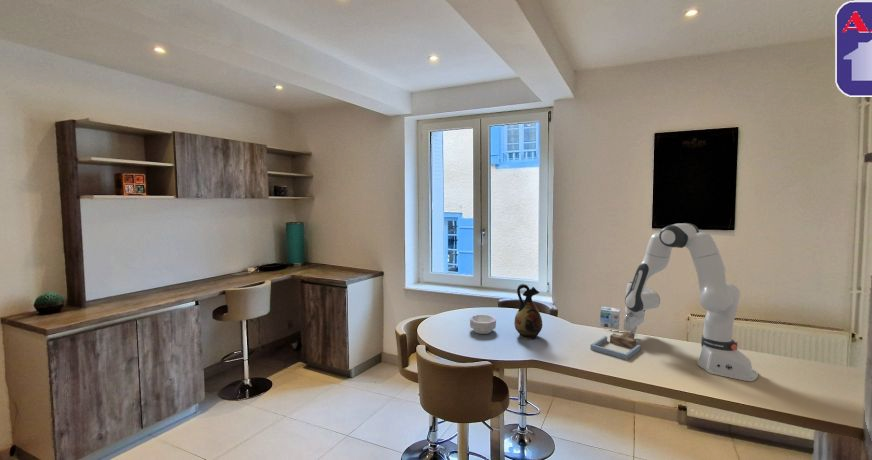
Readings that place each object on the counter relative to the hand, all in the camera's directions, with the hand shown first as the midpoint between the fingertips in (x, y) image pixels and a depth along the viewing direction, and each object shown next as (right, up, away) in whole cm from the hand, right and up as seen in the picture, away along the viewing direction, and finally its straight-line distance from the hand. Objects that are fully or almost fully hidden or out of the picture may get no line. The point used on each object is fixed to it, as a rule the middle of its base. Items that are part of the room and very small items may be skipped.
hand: (633, 334), depth 224 cm
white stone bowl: (-82, -2, +14) cm, 83 cm away
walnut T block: (-7, -3, -6) cm, 10 cm away
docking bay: (-17, -4, -15) cm, 23 cm away
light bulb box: (-5, 0, +19) cm, 20 cm away
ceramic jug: (-58, -3, +4) cm, 59 cm away
